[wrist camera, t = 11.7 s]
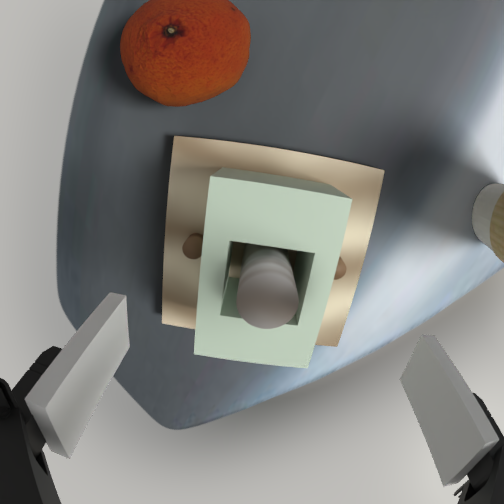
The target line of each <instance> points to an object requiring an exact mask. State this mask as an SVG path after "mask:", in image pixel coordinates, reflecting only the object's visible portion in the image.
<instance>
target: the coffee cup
mask: <svg viewBox="0 0 504 504" xmlns="http://www.w3.org/2000/svg"><path fill="white" fill-rule="evenodd" d="M472 225H473V230H474V232H475V235H476V236H477V238H478V239H479V240H480V241H482V242H483V243H484V244H485V245H486V246H488V247H489V248H490V249H491V250H492V251H494V253H495V255H496V256H497V257H498V258H499V259H500V260H501V261H502V262H504V184H498V183H492V184H489V185H487V186H486V187H484V188H483V189H482V190H481V191H480V193H479V194H478V196H477V198H476V200H475V203H474V206H473V210H472Z"/></svg>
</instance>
